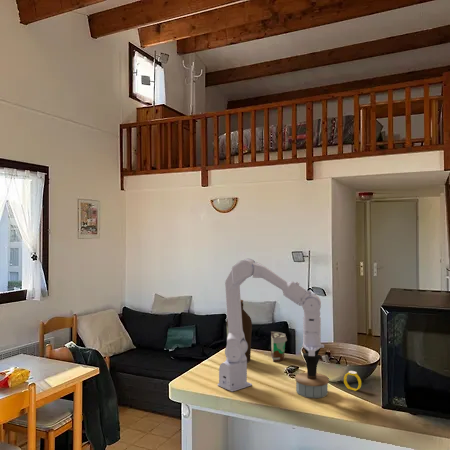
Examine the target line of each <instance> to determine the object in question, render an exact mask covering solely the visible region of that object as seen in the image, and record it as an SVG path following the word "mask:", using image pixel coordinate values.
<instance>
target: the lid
mask: <svg viewBox="0 0 450 450" xmlns="http://www.w3.org/2000/svg"><path fill="white" fill-rule="evenodd" d="M294 380H295V382H298V383H300V384H302V385H307V386H323V385H326V384H329V382H330V379H329V378H328V376H327V375H324V374H322V373H317V369H316V374H315V376H309V375H308V371H306V372H301V373H298V374H295V378H294Z"/></svg>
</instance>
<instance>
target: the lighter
mask: <svg viewBox="0 0 450 450" xmlns="http://www.w3.org/2000/svg"><path fill="white" fill-rule="evenodd" d="M321 359H322V361H325V362H330V360H329V359H330V358H329V355H328V354H325V355H322V356H321ZM330 363H331V362H330Z"/></svg>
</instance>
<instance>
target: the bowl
mask: <svg viewBox="0 0 450 450" xmlns="http://www.w3.org/2000/svg"><path fill="white" fill-rule="evenodd" d="M295 382H296V381H295ZM295 384H296V385H295V386H296V387H295V391H296V393H297V394H298V395H300V396H301V397H304V398H308V399H309V398H310V399H322V398H325V397H327V395H328V391H329V389H328V384H329V383H328V384H326V385H323V386H307V385H302V384H300V383H298V382H296V383H295Z"/></svg>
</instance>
